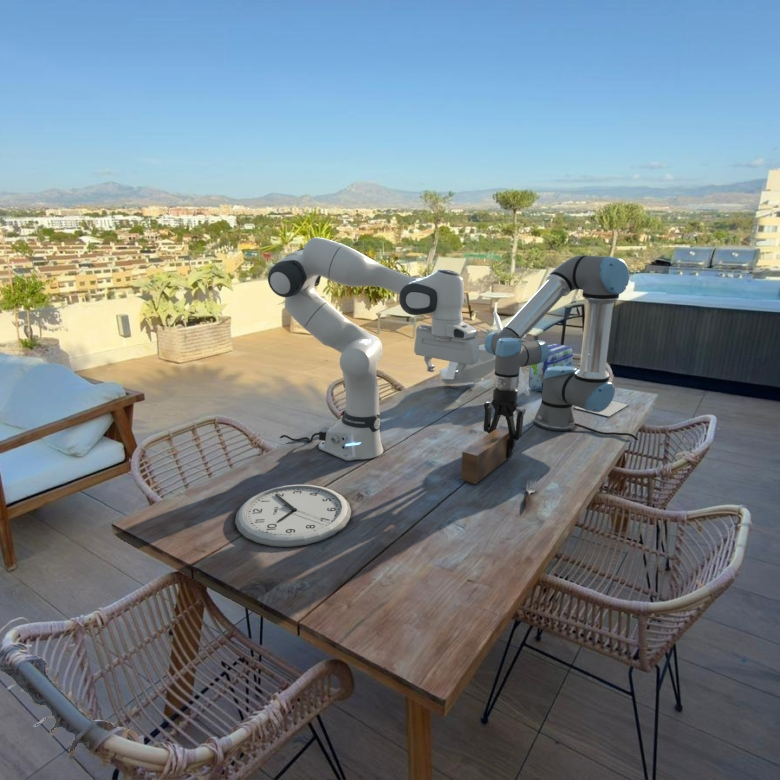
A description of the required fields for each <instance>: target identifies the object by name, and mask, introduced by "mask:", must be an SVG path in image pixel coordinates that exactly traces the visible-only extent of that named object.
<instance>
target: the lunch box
mask: <svg viewBox="0 0 780 780" xmlns="http://www.w3.org/2000/svg"><path fill="white" fill-rule="evenodd" d="M548 347H549V357H548V359H547V360H546V361H545V362H542V363H539V364H537V365H529V374H528V375H529V376H528V387H529V388H528V389H530V390H534V391H539V392H542V391H543V380H544V379H543V378H544V375H545V370H546V369H547V368H549V367H555V366H570V367H573V358H574V349H573V346H571V345H565V344H558V343H553V344H548Z"/></svg>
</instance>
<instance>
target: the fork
mask: <svg viewBox="0 0 780 780" xmlns="http://www.w3.org/2000/svg"><path fill="white" fill-rule="evenodd" d="M536 483H537V480H536V479H535V480H534V482H532V479H530V481H529V478H527V482H526V487H525V492H526V493H528V495H527V496H526V497H525V510H526V511H527V509H528V507H529V504H530V502H531V494H532V493H535V491H536Z"/></svg>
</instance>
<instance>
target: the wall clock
mask: <svg viewBox="0 0 780 780" xmlns="http://www.w3.org/2000/svg"><path fill="white" fill-rule="evenodd" d="M351 514H352V509H351V504H350V503H349V501H348V500H347V499H346V498H345V497H344V496H343V495H341V494H340V493H338V492H337V491H335V490H333V489H330V488H327V487H323V486H318V485H313V484H290V485H289V484H288V485H282V486H277V487H272V488H269V489H267V490H264V491H261V492H259V493H257V494H255V495H254V496H252V497H250V498H248V499H247V500H246V501H245V502H244V503H243V504H242V505H240V507H239V509H238V510H237V511H236V514H235V520H234V524H235V526H236V529H237V531H238V532H239V533H240V534H241V535H242V536H243V537H245V538H246V539H248V540H250V541H252V542H254V543H257V544H261V545H266V546H270V547H283V548H284V547H285V548H286V547H287V548H289V547H298V546H306V545H311V544H313V543H319V542H322V541H324V540H327V539H328V538H330V537H332V536H334V535H336V534H337V533H339V532H340V531H341V530H343V529H345V526H346V525H347V524H348V522H350V518H351Z"/></svg>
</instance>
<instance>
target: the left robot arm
mask: <svg viewBox="0 0 780 780" xmlns="http://www.w3.org/2000/svg"><path fill="white" fill-rule="evenodd" d="M321 278H324V279H327V280H329V281H331V282H333V283H335V284H338V285H341V286H345V287H350V288H360V287H376V288H377V287H378V288H382V289H384V290H387V291H389V292H392V293H395V294H397V295H398V301H399V302H398V303H399V305H400V307H401V309H402V310H403V311H404V312H405V314H409V315H410V316H422V315H428V314H430V315H431V324H430V325H429V324H424V323H423V324H420V325H418V326H417V327H416V329H415V340H414V346H413V352H414V354H415V355H416V356H420V357H423V361H424V362H425V364H426V367H427V368H426V370H427V372H428V373H429V372H430V373H433V372H435V366H436V365H434V364H433V363H432V359H436V360H441V361H447V362H449V361H452V362H457V363H459V367H460V368H459V370H457V371H455V377H458V378H460V377H462V371H463V370H464V368H465V367H466V364H468V365H472V364H475V363H476V362H477V361H478V359H479V345H480V342H479V340H478V338H477V336H478V335H479V330H478V328H476V327H474V326H472V325H470V324H469V323H467V322H465V321H463V319H464V318H463V313H462V312H463V306H464V303H465V283H464V279H463V276H462V274H460V273H458V272H457V271H454V270H449V269H445V268H444V269H441V268H440V269H437V270H436V271H435V272H433V273H431V274H429V275H427V276H418V277H417V276H416V277H415V276H411V275H408V274H406V273H403V272H401V271H398V270H395V269H393V268H390V267H388V266H386V265H383V264H382V263H380V262H377V261H376V260H374V259H372V258H370V257H369V256H367V255H365V254H363V253H361V252H360V251H358V250H356V249H354V248H352V247H350V246H348V245H345V244H343V243H340V242H337V241H335V240H331V239H327V238H323V237H312V238H310V239H309V240H307V242H306V243H305V245H304V247H302V248H299V249H297V250H296V251H293V252H291V253H289V254H286V255H285V256H284V258H282V259H281V260H280V261H278V262H276V263H275V264H274V265H273V266H271V268H270V270H269V271H268V274H267V281H268V285H269V288H270V290H271V291H272V292H273V293H274V294H275V295H277V296H279V297H281V298H285V299H284V308H285V310H286V311H287V312H288V313H289V315H290V316H291V317H292V318H293V319H294V320H295V321H296V322H297V323H298V324H299V325H300V326H301V327H302V328H303V329H304V330H305V331H307V332H308V333H309V334H310V335H312V336H313V337H314V338H315V339H317V341H318V342H320V343H321V344H322V345H324V346H326V347H329V348H332V349H333V350H335V351H337V352H339V353H340V354H341V355H340V357H339V367H340V369H341V371H342V377H343V383H344V390H345V409H344V410H343V411H342V412H339V413H338V418H340V417H341V419H340V420H339V421H338V422H336V423H334V424H333V425H332V426H330V427H326V426H325V427H323V428H322V429H320V430H319V432H315V433H313V434H312V435H311V437H308V436H303V437H300V438H292V437H290V436H289V435H287V434H281V436H279V439H282V438H286V439H288V440H290V441H293V442H299V441H302V440H303V441H304V440H307V441H308V442H309V443H312V442H313V440H314V438H315V437H316V436H318V439H319V441H320V443H319V444H318V450H321V451H323V452H326V453H328V454H330V455H332V456H335V457H337V458H340V459H342V460H344V461H347V462H351V461H355V460H371V459H373V458H377V457H379V456H381V455H382V454H383V453H384V448H383V443H382V438H381V430H380V429H381V410H380V387H379V383H378V377H377V376H378V375H377V366H378V363H380V361H381V359H382V357H383V354H384V346H383V343H382V341H381V339H380V338H379V337H377V336H376V335H374V334H371V333H370V332H368V331H367V330H366V329H364V328H362V327H361V326H359V325H358V324H356V323H354V322H352V321H351V320H349V319H348V318H346V316H344V315H343V314H342V313H341V312H340V311H338V310H337V309H336V308H334V307H333V306H332V304H330V303H329V302H328V301H326V300H325V299H324V298H323V297H321V296H320V295H319V294H318V292H317V291H316V287H317V286H319V285H320V282H321Z"/></svg>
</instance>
